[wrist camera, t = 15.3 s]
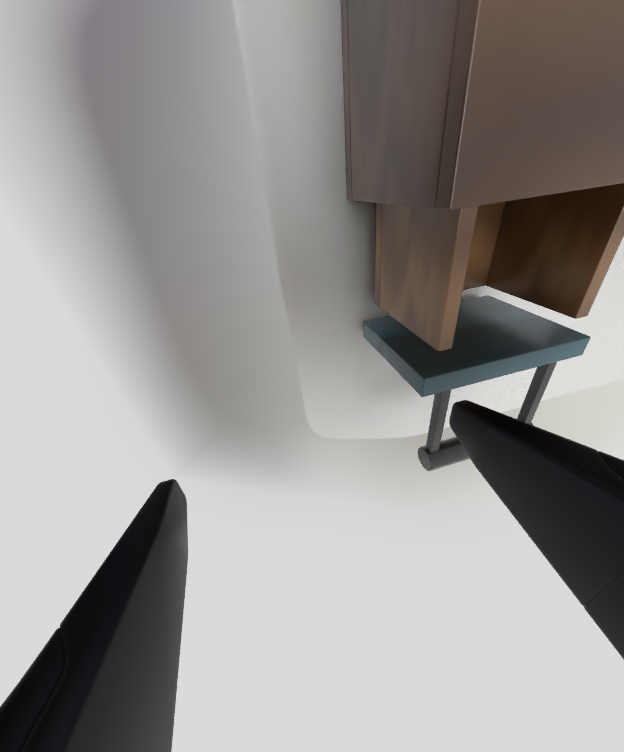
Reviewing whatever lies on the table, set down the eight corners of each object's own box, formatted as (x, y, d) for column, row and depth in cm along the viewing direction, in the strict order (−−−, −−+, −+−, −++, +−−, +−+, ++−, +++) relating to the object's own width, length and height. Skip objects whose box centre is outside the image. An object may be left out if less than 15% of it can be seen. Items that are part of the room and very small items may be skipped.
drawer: (468, 379, 27) (546, 439, 21) (363, 406, 26) (412, 481, 19) (535, 98, 16) (744, 39, 10) (361, 114, 15) (474, 57, 8)
